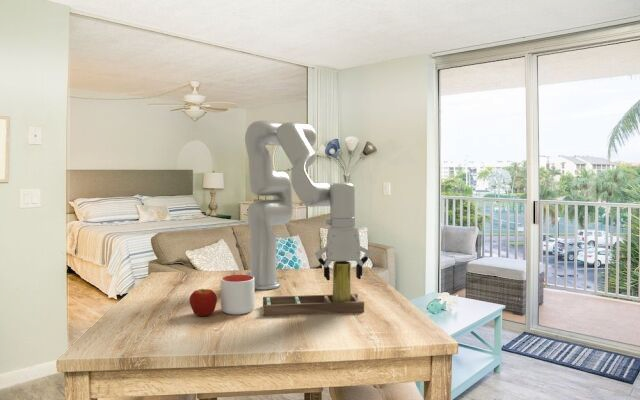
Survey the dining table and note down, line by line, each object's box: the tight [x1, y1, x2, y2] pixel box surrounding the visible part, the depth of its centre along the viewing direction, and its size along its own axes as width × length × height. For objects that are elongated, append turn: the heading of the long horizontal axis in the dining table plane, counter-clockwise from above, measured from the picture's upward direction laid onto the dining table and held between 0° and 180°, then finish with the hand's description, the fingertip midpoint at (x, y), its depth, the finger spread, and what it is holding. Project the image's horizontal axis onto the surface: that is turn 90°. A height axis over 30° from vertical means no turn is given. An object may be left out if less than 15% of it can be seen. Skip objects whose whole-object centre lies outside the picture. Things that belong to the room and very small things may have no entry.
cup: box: [220, 274, 256, 315], centre depth 141 cm, size 10×10×10 cm
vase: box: [332, 261, 352, 302], centre depth 144 cm, size 6×6×14 cm
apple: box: [189, 288, 218, 317], centre depth 137 cm, size 8×8×8 cm
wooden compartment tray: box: [262, 293, 365, 317], centre depth 143 cm, size 10×30×3 cm, turn 98°
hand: (343, 278), depth 144 cm, fingers open, 9 cm apart
